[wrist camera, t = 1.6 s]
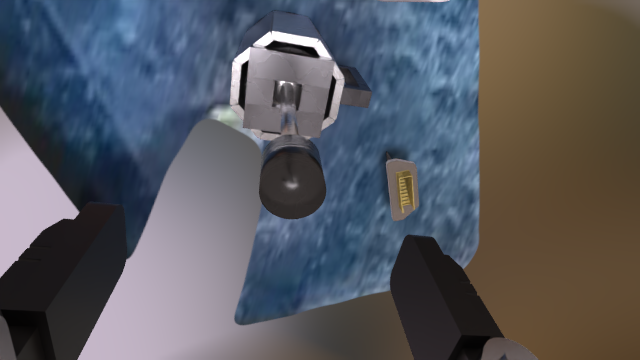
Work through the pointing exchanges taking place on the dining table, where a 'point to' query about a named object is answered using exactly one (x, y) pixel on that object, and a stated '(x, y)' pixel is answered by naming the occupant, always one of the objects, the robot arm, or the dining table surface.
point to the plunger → (291, 160)
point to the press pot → (291, 77)
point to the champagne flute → (413, 0)
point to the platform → (394, 183)
